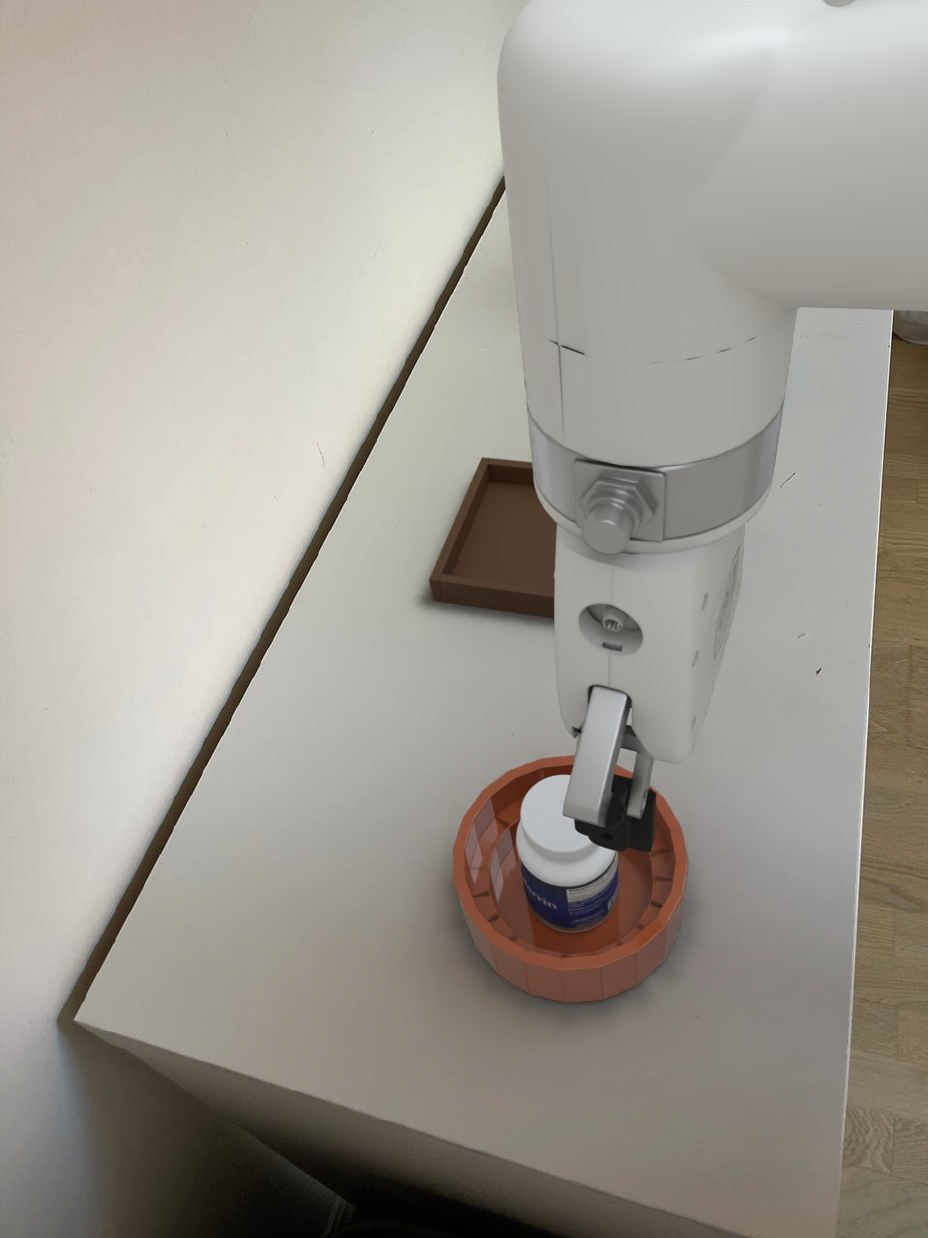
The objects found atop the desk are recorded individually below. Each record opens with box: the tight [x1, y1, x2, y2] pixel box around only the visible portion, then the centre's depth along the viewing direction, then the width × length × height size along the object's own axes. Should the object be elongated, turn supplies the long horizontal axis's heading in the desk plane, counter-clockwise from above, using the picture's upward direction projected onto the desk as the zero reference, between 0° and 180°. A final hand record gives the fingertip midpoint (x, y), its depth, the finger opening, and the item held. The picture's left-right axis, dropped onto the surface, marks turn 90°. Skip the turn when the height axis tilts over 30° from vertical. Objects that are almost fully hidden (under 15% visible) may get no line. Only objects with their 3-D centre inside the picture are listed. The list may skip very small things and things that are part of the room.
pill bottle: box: [516, 775, 619, 933], centre depth 57 cm, size 6×6×10 cm
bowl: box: [452, 754, 689, 1004], centre depth 59 cm, size 13×13×6 cm
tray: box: [428, 456, 557, 619], centre depth 80 cm, size 20×15×2 cm
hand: (645, 741), depth 44 cm, fingers open, 9 cm apart
